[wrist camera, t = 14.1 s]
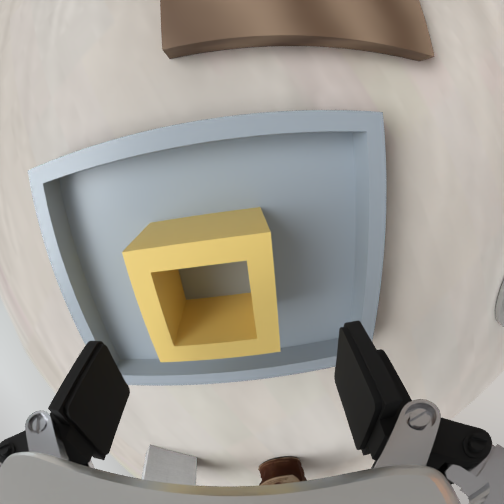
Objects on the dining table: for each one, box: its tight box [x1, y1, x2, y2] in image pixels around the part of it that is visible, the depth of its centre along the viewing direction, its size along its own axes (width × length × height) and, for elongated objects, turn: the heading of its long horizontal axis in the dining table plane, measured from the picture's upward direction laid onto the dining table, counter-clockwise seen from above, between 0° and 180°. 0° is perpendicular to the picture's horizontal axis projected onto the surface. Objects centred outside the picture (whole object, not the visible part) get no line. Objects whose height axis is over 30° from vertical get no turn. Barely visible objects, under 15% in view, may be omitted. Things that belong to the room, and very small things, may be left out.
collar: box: [122, 207, 281, 362], centre depth 16 cm, size 7×7×5 cm
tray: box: [28, 110, 386, 385], centre depth 18 cm, size 22×18×3 cm
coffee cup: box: [258, 457, 307, 486], centre depth 26 cm, size 9×8×13 cm
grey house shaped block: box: [142, 445, 197, 486], centre depth 25 cm, size 4×7×10 cm, turn 65°
